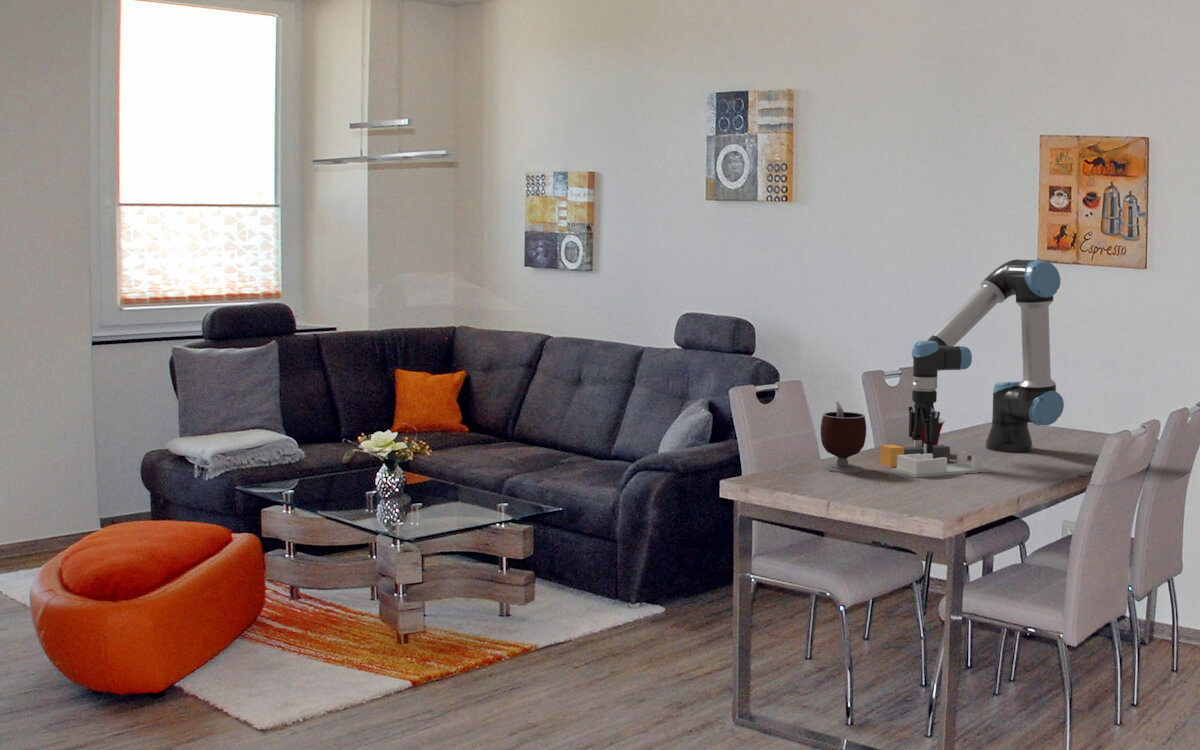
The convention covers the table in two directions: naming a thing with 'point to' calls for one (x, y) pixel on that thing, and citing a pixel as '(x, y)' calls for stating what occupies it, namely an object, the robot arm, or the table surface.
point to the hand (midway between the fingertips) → (922, 461)
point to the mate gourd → (843, 438)
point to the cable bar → (891, 452)
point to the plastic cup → (938, 431)
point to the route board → (938, 465)
